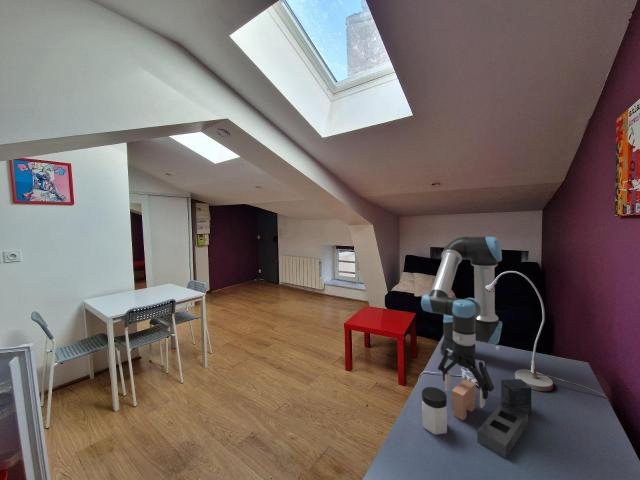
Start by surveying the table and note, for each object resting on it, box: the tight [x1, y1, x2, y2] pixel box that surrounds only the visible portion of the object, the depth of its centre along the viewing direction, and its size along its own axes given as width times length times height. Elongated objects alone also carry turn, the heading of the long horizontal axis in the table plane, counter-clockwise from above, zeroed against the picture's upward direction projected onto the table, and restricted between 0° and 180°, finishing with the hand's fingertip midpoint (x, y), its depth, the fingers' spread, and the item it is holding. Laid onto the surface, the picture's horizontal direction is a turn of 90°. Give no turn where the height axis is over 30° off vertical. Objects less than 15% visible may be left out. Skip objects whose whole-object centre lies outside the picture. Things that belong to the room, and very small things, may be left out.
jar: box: [421, 386, 448, 436], centre depth 95 cm, size 9×8×12 cm
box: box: [500, 378, 533, 415], centre depth 101 cm, size 8×6×11 cm
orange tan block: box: [451, 378, 477, 421], centre depth 101 cm, size 11×4×10 cm, turn 128°
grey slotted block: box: [476, 401, 529, 459], centre depth 91 cm, size 22×8×4 cm, turn 128°
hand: (464, 397), depth 101 cm, fingers open, 12 cm apart
